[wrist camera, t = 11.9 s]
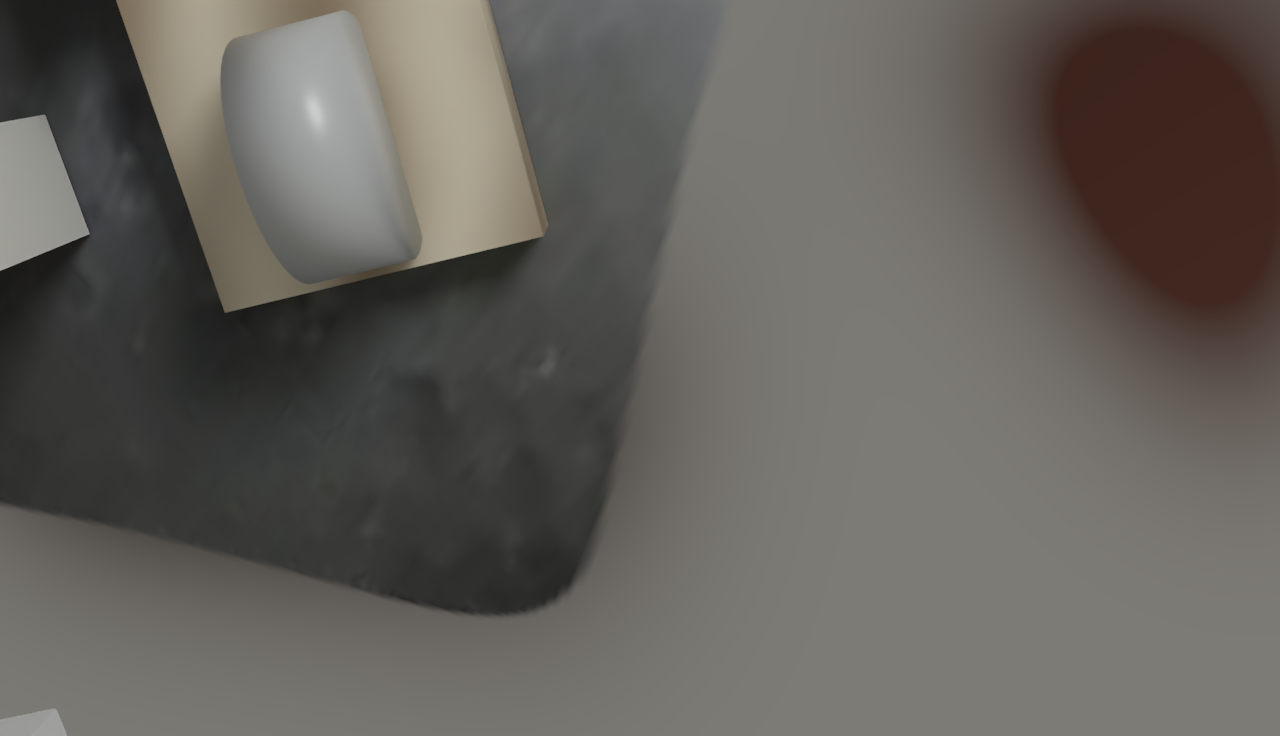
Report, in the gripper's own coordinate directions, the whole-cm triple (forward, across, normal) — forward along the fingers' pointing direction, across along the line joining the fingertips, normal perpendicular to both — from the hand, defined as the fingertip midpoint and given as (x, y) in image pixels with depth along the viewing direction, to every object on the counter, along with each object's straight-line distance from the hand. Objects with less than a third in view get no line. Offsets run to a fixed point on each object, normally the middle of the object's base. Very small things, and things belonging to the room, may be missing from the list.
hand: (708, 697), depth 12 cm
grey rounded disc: (+27, -9, +5) cm, 29 cm away
